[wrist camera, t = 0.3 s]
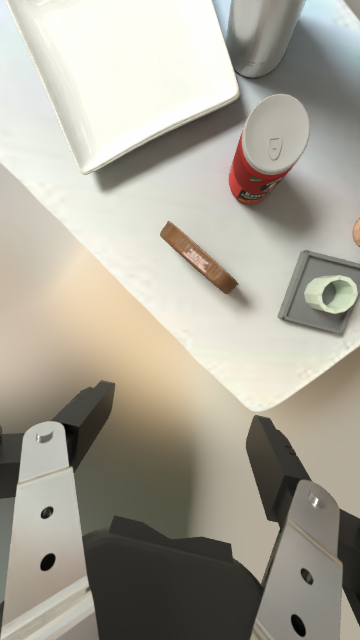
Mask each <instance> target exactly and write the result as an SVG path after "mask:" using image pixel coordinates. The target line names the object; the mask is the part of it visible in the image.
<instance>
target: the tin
mask: <svg viewBox="0 0 360 640" xmlns="http://www.w3.org/2000/svg"><path fill="white" fill-rule="evenodd" d="M160 236H161V237H162V238H163V239H164V240H165V241H166V242H167V243H168V244H169V245H170V246H171V247H172V248H174V249H175V250H176V251H177V252H178V253H179V254H180V255H181V256H182V257H183V258H185V259H186V260H187V261H188V262H189V263H190V264H191V265H192V266H193V267H195V268H196V269H197V270H198V271H199V272H200V273H201V274H203V275H204V276H205V277H206V278H207V279H208V280H210V281H211V282H212V283H213V284H214V285H215V286H216V287H218V288H219V289H220V290H221V291H223V292H224V293H225V294H228V293H230V292H231V291H232V290H233V289H234V287H235V286H236V285H238V283H237V281H236V280H235V279H234V278H233V277H232V276H231V275H230V274H229V273H227V272H226V271H225V270H224V269H223V268H222V267H221V266H220V265H219V264H218V263H217V262H215V261H214V260H213V259H212V258H211V257H210V256H209V255H208V254H206V253H205V252H204V251H203V250H202V249H201V248H200V247H199V246H198V245H197V244H195V243H194V242H193V241H192V240H191V239H190V238H189V237H188V236H187V235H185V234H184V233H183V232H182V231H181V230H180V229H179V228H177V227H176V226H175V225H174V224H173V223H171V222H170V221H168V222H167V224H166V226H165V227H164V228H163V230H162V231H161V233H160Z"/></svg>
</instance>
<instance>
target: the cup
mask: <svg viewBox="0 0 360 640" xmlns="http://www.w3.org/2000/svg"><path fill="white" fill-rule="evenodd" d="M353 238H354V241H355V243H356V244H357V245H358V246H359V247H360V219H359V220H358V221H357V222H356V224H355V226H354V229H353Z"/></svg>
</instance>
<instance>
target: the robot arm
mask: <svg viewBox="0 0 360 640" xmlns="http://www.w3.org/2000/svg"><path fill="white" fill-rule="evenodd" d="M305 2H306V0H231V6H230V14H229V21H228V29H227V37H226V47H227V50H228V53H229V56H230V60H231V63H232V66H233V68H234V69H235V70H236V71H237V72H238V73H240V74H241V75H243V76H246V77H251V78H255V77H261V76H263V75H266V74H268V73H269V72H271V71H272V70H273V69H274V68H275V67H276V66H277V65H278V64H279V62H280V61H281V60H282V58H283V56H284V54H285V52H286V49H287V47H288V44H289V42H290V39H291V37H292V34H293V32H294V29H295V26H296V24H297V22H298V19H299V17H300V14H301V12H302V9H303V7H304V4H305ZM114 390H115V383H112V382H107V381H103V380H101V381H100V382H99V383H98V384H97V386H96V387H95V388H91V387H89V388H87V389H84V390H82V391H81V392H80V393H79V394H78V395H76V397H75V398H74V399H72V400H71V401H70V403H69V404H67V405H66V406H65V408H63V409H62V410H61V411H60V412H59V413H58V414H57V415H56V416H55V417H54V418H53V419H52V420H51V421H50V422H43V423H40V424H37V425H35V426H33V427H31V428H30V429H29V430H28V431H27V432H26V433H20V434H2V427H1V426H0V499H1V498H10V497H16V500H15V509H14V518H13V527H12V537H11V547H10V555H9V565H8V574H7V583H6V592H5V600H4V601H3V602H2V603H1V604H0V640H340V620H341V619H340V618H341V596H342V588H343V590H344V592H345V594H346V597H347V599H348V601H349V603H350V606H351V608H352V610H353V612H354V615H355V617H356V619H357V622H358V624H359V626H360V519H359V518H357V517H355V516H353V515H351V514H349V513H347V512H345V511H343V510H341V509H340V508H339V507H338V505H337V503H336V501H335V500H334V498H333V497H332V496H331V495H330V494H329V493H328V492H327V491H326V490H325V489H324V488H322V487H321V486H319V485H318V484H316V483H314V482H312V480H311V479H310V477H309V475H308V474H307V472H306V470H305V468H304V467H303V465H302V463H301V461H300V460H299V458H298V457H297V456H296V453H295V451H294V449H292V446H291V444H290V442H289V441H288V439H287V438H286V437H285V436H284V435H283V434H282V433H281V432H280V431H279V430H276V428H275V426H274V425H273V423H272V421H271V419H270V418H267V417H262V416H258V415H255V416H254V417H253V420H252V423H251V426H250V430H249V433H248V436H247V440H246V450H247V454H248V457H249V460H250V464H251V467H252V471H253V474H254V477H255V480H256V484H257V487H258V490H259V494H260V497H261V500H262V504H263V507H264V510H265V514H266V517H267V520H269V521H273V522H278V524H279V526H280V530H279V533H278V536H277V538H276V541H275V544H274V547H273V550H272V553H271V556H270V559H269V562H268V565H267V568H266V570H265V573H264V576H263V579H262V582H261V584H260V583H259V581H258V580H257V579H256V578H255V577H254V576H253V574H252V573H251V572H250V571H249V570H248V569H246V568H245V567H244V566H243V565H242V564H241V563H239V562H238V561H237V560H235V559H234V558H233V556H232V549H231V544H230V543H225V542H221V541H217V540H213V539H209V538H205V537H194V538H183V539H170V538H168V537H166V536H164V535H163V534H161V533H159V532H157V531H156V530H154V529H153V528H151V527H149V526H148V525H146V524H144V523H143V522H139V521H135V520H131V519H127V518H123V517H119V516H114V518H113V520H112V523H111V527H108V528H102V529H98V530H95V531H92V532H90V533H88V534H86V535H84V536H82V534H81V527H80V519H79V512H78V505H77V497H76V490H75V482H74V475H73V473H75V471H76V469H77V468H78V466H79V464H80V463H81V461H82V460H83V458H84V456H85V455H86V453H87V452H88V450H89V448H90V447H91V445H92V443H93V442H94V440H95V439H96V437H97V435H98V434H99V432H100V430H101V429H102V427H103V426H104V424H105V423H106V421H107V419H108V418H109V415H110V413H111V409H112V404H113V397H114Z"/></svg>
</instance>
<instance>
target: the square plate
mask: <svg viewBox="0 0 360 640" xmlns="http://www.w3.org/2000/svg"><path fill="white" fill-rule="evenodd" d="M6 2H7V5H8V7H9V9H10V12H11V14H12V16H13V18H14V21H15V23H16V25H17V27H18V29H19V31H20V34H21V36H22V38H23V40H24V42H25V44H26V47H27V49H28V51H29V53H30V56H31V58H32V60H33V62H34V64H35V67H36V69H37V71H38V73H39V76H40V78H41V80H42V82H43V85H44V87H45V89H46V92H47V94H48V97H49V99H50V101H51V104H52V106H53V108H54V111H55V113H56V116H57V118H58V121H59V123H60V126H61V128H62V130H63V133H64V135H65V138H66V140H67V143H68V145H69V147H70V150H71V152H72V155H73V157H74V159H75V162H76V164H77V166H78V168H79V170H80V172H81V173H82V174H84V175H87V174H90V173H92V172H95V171H96V170H98V169H100V168H102V167H104V166H106V165H108V164H109V163H111V162H113V161H115V160H116V159H118V158H120V157H122V156H123V155H125V154H127V153H129V152H130V151H132V150H134V149H136V148H138V147H140V146H141V145H143V144H145V143H147V142H149V141H151V140H153V139H155V138H157V137H159V136H161V135H163V134H165V133H167V132H169V131H172V130H174V129H176V128H178V127H180V126H182V125H184V124H187V123H189V122H191V121H194V120H196V119H198V118H200V117H203V116H205V115H207V114H209V113H211V112H214V111H216V110H218V109H220V108H222V107H224V106H227V105H229V104H231V103H232V102H234V101H236V100H237V99H238V98H239V95H240V93H239V87H238V83H237V79H236V76H235V72H234V69H233V66H232V63H231V60H230V56H229V53H228V50H227V47H226V44H225V41H224V37H223V34H222V31H221V28H220V25H219V21H218V18H217V15H216V12H215V8H214V5H213V2H212V0H6Z"/></svg>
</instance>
